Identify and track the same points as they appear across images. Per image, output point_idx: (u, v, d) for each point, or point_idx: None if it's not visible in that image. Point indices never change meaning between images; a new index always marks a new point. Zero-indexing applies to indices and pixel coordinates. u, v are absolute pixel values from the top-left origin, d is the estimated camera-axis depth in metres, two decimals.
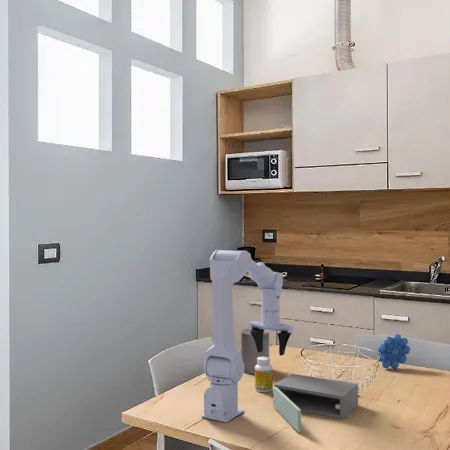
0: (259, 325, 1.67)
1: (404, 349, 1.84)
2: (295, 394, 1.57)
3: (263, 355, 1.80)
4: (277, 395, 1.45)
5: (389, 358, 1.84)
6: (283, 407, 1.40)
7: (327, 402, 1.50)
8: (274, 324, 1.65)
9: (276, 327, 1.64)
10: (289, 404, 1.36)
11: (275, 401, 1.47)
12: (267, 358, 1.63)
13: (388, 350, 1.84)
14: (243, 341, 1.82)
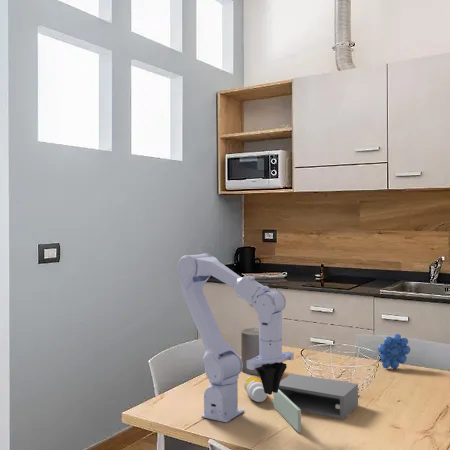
0: None
1: (404, 349, 1.84)
2: (295, 394, 1.57)
3: None
4: (277, 395, 1.45)
5: (389, 358, 1.84)
6: (283, 407, 1.40)
7: (327, 402, 1.50)
8: (259, 355, 1.35)
9: None
10: (289, 404, 1.36)
11: (275, 401, 1.47)
12: (261, 391, 1.51)
13: (388, 350, 1.84)
14: (243, 341, 1.82)
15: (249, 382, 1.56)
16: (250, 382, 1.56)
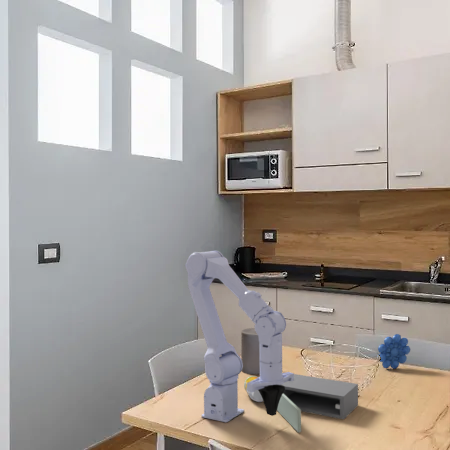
0: None
1: (404, 349, 1.84)
2: (295, 394, 1.57)
3: None
4: None
5: (389, 358, 1.84)
6: (283, 407, 1.40)
7: (327, 402, 1.50)
8: None
9: None
10: (289, 404, 1.36)
11: None
12: None
13: (388, 350, 1.84)
14: (243, 341, 1.82)
15: None
16: None
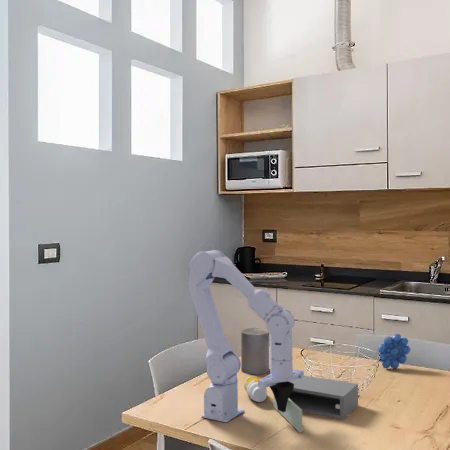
0: None
1: (404, 349, 1.84)
2: (295, 394, 1.57)
3: (263, 355, 1.80)
4: None
5: (389, 358, 1.84)
6: None
7: (327, 402, 1.50)
8: (270, 373, 1.38)
9: None
10: (290, 404, 1.36)
11: (275, 401, 1.47)
12: (261, 391, 1.51)
13: (388, 350, 1.84)
14: (243, 341, 1.82)
15: (249, 382, 1.56)
16: (250, 382, 1.56)
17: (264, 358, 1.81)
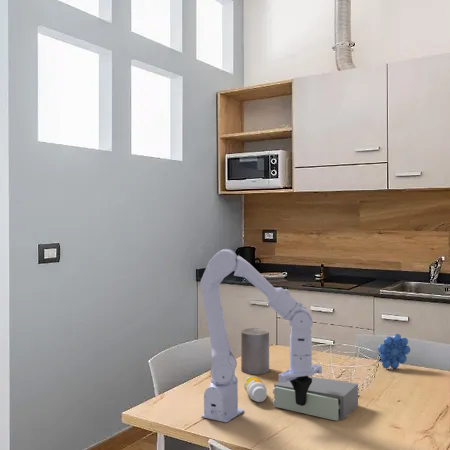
0: None
1: (404, 349, 1.84)
2: None
3: (263, 355, 1.80)
4: (285, 393, 1.46)
5: (389, 358, 1.84)
6: None
7: None
8: (290, 368, 1.42)
9: None
10: (316, 397, 1.41)
11: (279, 400, 1.47)
12: (261, 391, 1.51)
13: (388, 350, 1.84)
14: (243, 341, 1.82)
15: (249, 382, 1.56)
16: (250, 382, 1.56)
17: (264, 358, 1.81)
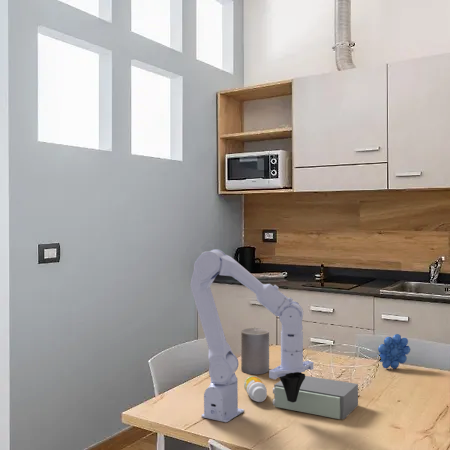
0: None
1: (404, 349, 1.84)
2: None
3: (263, 355, 1.80)
4: (285, 393, 1.46)
5: (389, 358, 1.84)
6: (302, 403, 1.44)
7: None
8: (281, 364, 1.40)
9: None
10: (317, 396, 1.42)
11: (279, 400, 1.47)
12: (261, 391, 1.51)
13: (388, 350, 1.84)
14: (243, 341, 1.82)
15: (249, 382, 1.56)
16: (250, 382, 1.56)
17: (264, 358, 1.81)
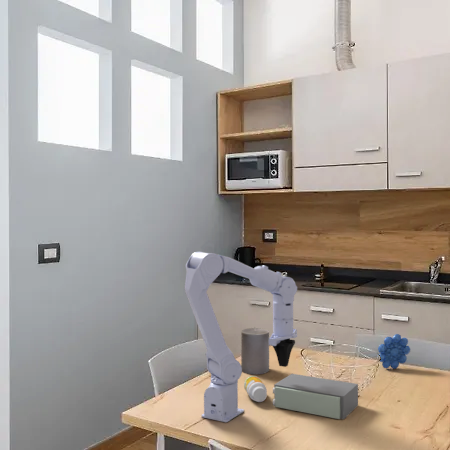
0: None
1: (404, 349, 1.84)
2: None
3: (263, 355, 1.80)
4: (285, 393, 1.46)
5: (389, 358, 1.84)
6: (302, 403, 1.44)
7: None
8: (274, 333, 1.51)
9: None
10: (317, 396, 1.42)
11: (279, 400, 1.47)
12: (261, 391, 1.51)
13: (388, 350, 1.84)
14: (243, 341, 1.82)
15: (249, 382, 1.56)
16: (250, 382, 1.56)
17: (264, 358, 1.81)
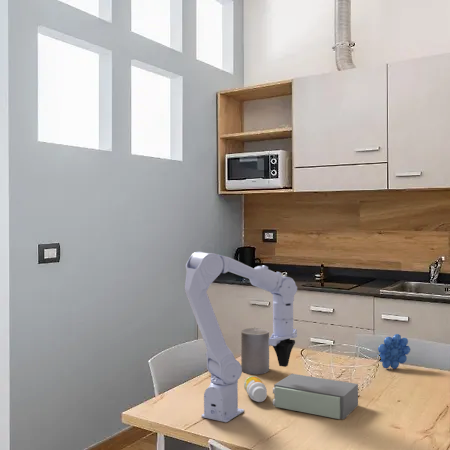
0: None
1: (404, 349, 1.84)
2: None
3: (263, 355, 1.80)
4: (285, 393, 1.46)
5: (389, 358, 1.84)
6: (302, 403, 1.44)
7: None
8: (274, 333, 1.51)
9: None
10: (317, 396, 1.42)
11: (279, 400, 1.47)
12: (261, 391, 1.51)
13: (388, 350, 1.84)
14: (243, 341, 1.82)
15: (249, 382, 1.56)
16: (250, 382, 1.56)
17: (264, 358, 1.81)
